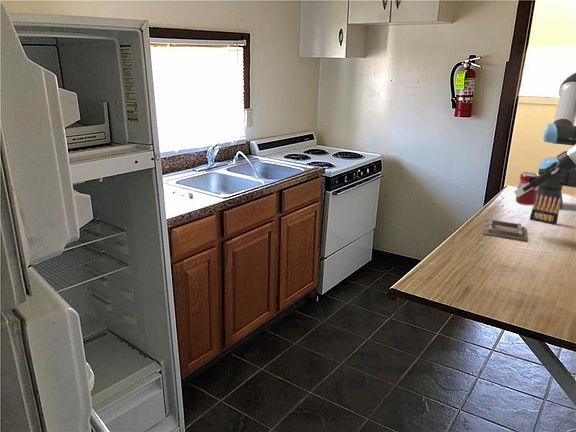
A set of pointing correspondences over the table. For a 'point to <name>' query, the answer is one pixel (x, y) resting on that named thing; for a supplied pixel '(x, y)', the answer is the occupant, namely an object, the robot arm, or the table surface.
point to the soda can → (531, 195)
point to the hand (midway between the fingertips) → (517, 192)
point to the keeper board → (504, 230)
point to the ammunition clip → (547, 213)
